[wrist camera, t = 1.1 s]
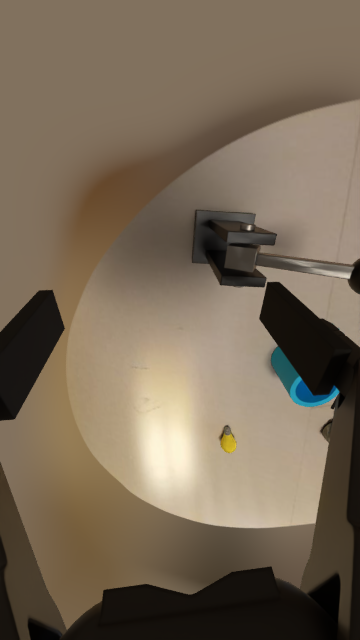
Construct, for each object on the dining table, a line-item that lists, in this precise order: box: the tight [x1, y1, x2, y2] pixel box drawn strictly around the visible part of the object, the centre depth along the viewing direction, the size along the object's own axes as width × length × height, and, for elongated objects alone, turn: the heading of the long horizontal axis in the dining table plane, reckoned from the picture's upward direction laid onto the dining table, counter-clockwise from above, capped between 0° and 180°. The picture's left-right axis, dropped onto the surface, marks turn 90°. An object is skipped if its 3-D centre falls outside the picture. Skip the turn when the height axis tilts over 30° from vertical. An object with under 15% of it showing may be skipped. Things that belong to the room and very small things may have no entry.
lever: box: [224, 243, 360, 294], centre depth 22 cm, size 14×4×4 cm, turn 86°
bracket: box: [192, 210, 277, 287], centre depth 28 cm, size 8×7×14 cm
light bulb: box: [221, 427, 236, 453], centre depth 53 cm, size 3×6×4 cm, turn 6°
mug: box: [271, 346, 339, 407], centre depth 40 cm, size 12×8×8 cm
